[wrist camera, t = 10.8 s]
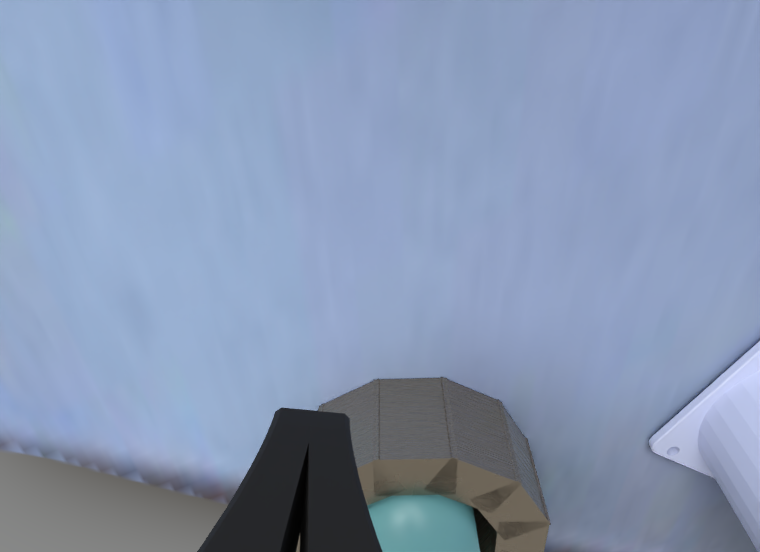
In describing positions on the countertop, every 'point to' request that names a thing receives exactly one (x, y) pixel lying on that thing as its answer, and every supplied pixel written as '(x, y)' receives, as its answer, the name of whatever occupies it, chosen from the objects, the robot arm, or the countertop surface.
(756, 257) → the countertop surface
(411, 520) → the teal rounded cylinder
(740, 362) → the robot arm
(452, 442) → the brown faceted tube
